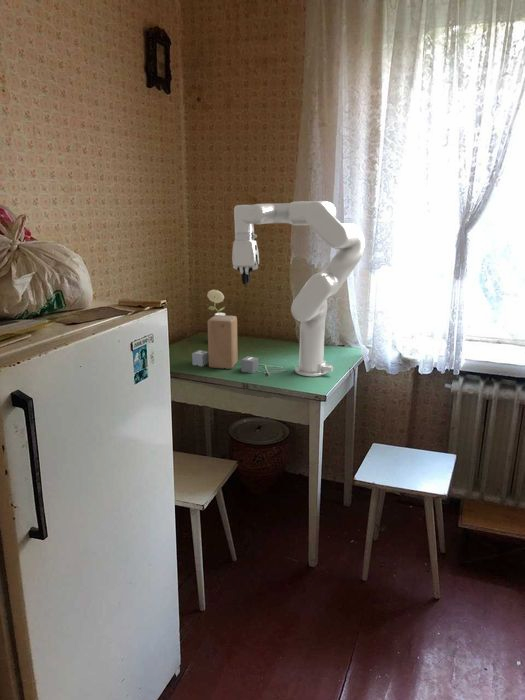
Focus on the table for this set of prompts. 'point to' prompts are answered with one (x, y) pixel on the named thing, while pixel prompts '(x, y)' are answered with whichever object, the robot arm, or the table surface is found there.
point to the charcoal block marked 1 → (250, 364)
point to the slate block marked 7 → (200, 358)
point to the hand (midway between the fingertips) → (246, 283)
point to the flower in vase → (216, 300)
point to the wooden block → (222, 341)
